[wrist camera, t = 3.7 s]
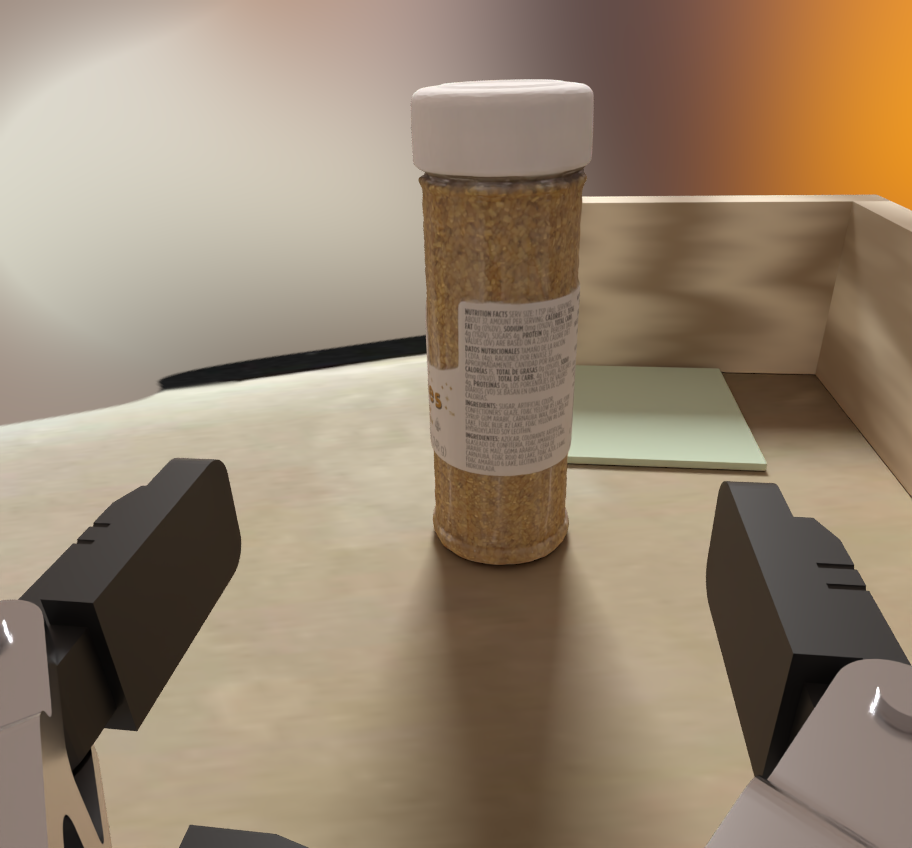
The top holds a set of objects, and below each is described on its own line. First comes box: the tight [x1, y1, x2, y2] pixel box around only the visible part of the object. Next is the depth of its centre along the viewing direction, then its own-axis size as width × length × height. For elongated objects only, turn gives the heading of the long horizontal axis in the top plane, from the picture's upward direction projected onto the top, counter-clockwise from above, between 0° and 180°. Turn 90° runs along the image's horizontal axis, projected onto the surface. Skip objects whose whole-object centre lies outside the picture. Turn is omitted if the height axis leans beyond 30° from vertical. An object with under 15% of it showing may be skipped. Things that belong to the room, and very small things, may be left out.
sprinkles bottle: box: [411, 80, 594, 565], centre depth 21 cm, size 5×5×13 cm
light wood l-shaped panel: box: [576, 195, 912, 497], centre depth 27 cm, size 17×18×8 cm
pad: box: [567, 365, 767, 471], centre depth 31 cm, size 9×9×1 cm
